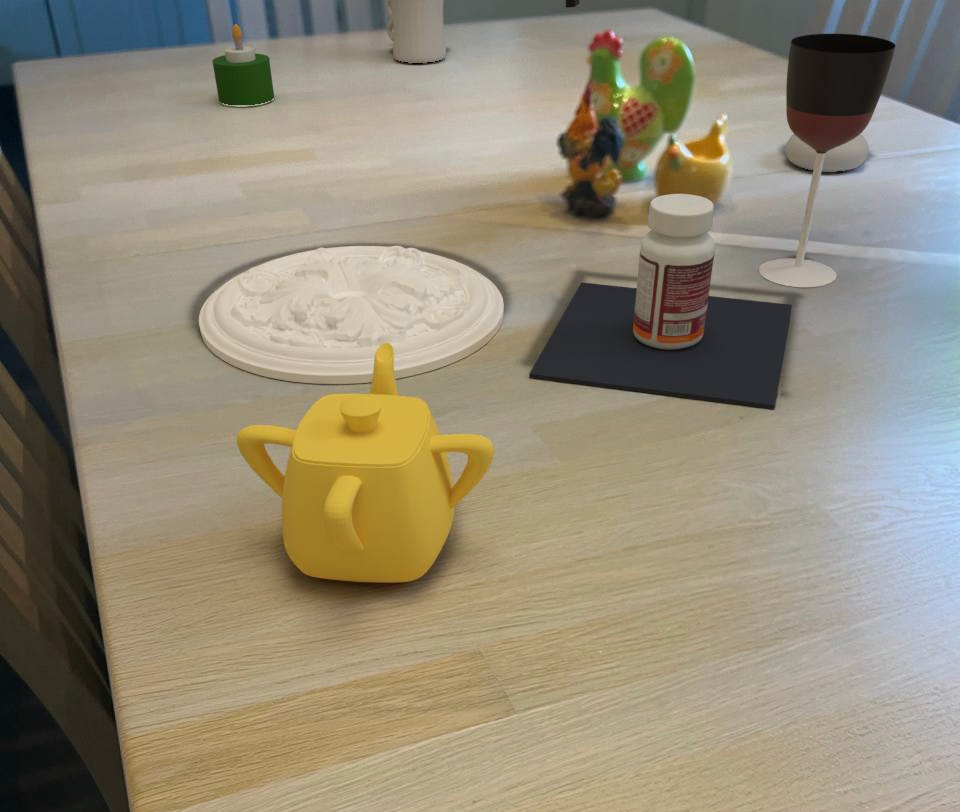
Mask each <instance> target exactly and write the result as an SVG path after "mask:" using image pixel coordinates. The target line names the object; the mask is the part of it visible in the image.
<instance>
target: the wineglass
mask: <svg viewBox="0 0 960 812" xmlns="http://www.w3.org/2000/svg"><path fill="white" fill-rule="evenodd" d="M895 50H896V44H895V42H892V41H891V40H888V39H886V38H881V37H877V36H872V35H871V36H870V35H864V34H863V35H862V34H853V33H852V34H851V33H815V34H813V33H812V34H804V35H800V36H796V37H794V38H792V39H791V41H790V45H789V53H788V60H787V72H786V88H785V89H786V90H785V94H786V95H785V96H786V102H785V103H786V106H785V107H786V108H785V109H786V121H787V124H788V127H789V129H790V131H791V132H792V133H793V134H795V135H796V136H797V137H798V138H799V139H800V140H801V141H803V142H804V143H806V144H807V145H809V146H810V147H811V148H813V149H814V150H816V152H817V154H816V159H815V165H814V170H813V171H812V175H811V181H810V184H809V185H810V186H809V189H808V190H809V191H808V196H807V200H806V206H805V211H804V216H803V222H802V226H801V231H800V235H799V241H798V246H797V247H798V248H797V252H796V257H795V258H788V257H786V258H784V257H783V258H776V259H771V260H769V261H765V262H763V263H762V264H761V265H760V266H759V267H758V272H759V275H760V276H761V277H763V278H764V279H765V280H768V281H770V282H772V283H775V284H778V285H781V286H786V287H794V288H816V287H822V286H823V287H824V286H826V285H830V284H831V283H833V282H834V281H836V278H837V273H836V272H835V271H836V270H834V269H833V268H831V267H830V266H828V265H827V264H824V263H822V262H818V261H814V260H810V259H805V256H806V250H807V246H808V241H809V236H810V231H811V227H812V222H813V221H812V220H813V216H814V211H815V206H816V201H817V198H818V197H817V196H818V192H819V185H820V181H821V176H822V173H823V172H822V167H823V162H824V157H825V153H826V152H827V151H829V150H831V149H833V148H836V147H838V146H840V145H843V144H845V143H847V142H849V141H851V140H852V139H854V138H856V137H857V136H858V135H862V133H864V131H865V129H867V127H868V125H869V124H870V122H871V120H872V117H873V115H874V113H875V110H876V108H877V105H878V103H879V101H880V98H881V95H882V94H883V90H884V87H885V85H886V81H887V78H888V75H889V71H890V69H891V65H892V61H893V58H894V53H895Z"/></svg>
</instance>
